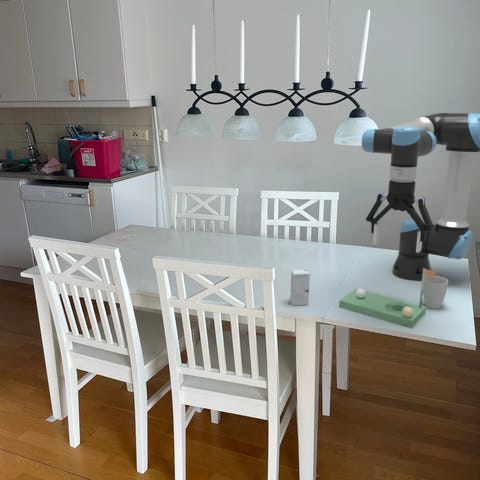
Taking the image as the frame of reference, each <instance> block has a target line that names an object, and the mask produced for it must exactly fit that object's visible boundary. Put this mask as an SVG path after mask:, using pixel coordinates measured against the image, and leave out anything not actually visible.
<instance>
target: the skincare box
mask: <svg viewBox="0 0 480 480" xmlns="http://www.w3.org/2000/svg"><path fill="white" fill-rule="evenodd" d="M310 277H311V273H310V272H309V270H308V269H291V272H290V298H289V300H290V304H291V303H292V304H291V306H308V305H309V294H310ZM307 304H308V305H307Z"/></svg>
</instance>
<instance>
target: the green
mask: <svg viewBox="0 0 480 480" xmlns="http://www.w3.org/2000/svg"><path fill="white" fill-rule="evenodd" d="M358 289H359V288H355V289H353V290H352V291H351V292H349V293H348V294H346V295H345V296H344V297H342V298H340V299H339V301H338V307H339V308H341V307H342V309H345V310H349V311H352V312H356V313H359V314H362V315H367V316H370V317H373V318H377V319H380V320H383V321H387V322H390V323H395V324H398V325H402V326H404V327H408V328H413V327H414V326H415V325H416V324H417V323H418V322H419V321H420V320H421V319H422V318H423V317H424V316H425V315H426V313H427V307H426V306H425V305H422V307H421V308H420V307H419V304H417V303H413V302H409V301H405V300H402V299H397V298H393V297H389V296H387V295H382V294H378V293H374V292H370V291H366V290H365V292H366V295H365V297H364V298H358V297H357V295H356V291H357V290H358ZM406 306H408V307H411V308H412V309H413V314H412V316H410V317H406V316H404V315H403V313H402V310H403V308H404V307H406Z"/></svg>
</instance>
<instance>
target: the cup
mask: <svg viewBox="0 0 480 480" xmlns="http://www.w3.org/2000/svg"><path fill="white" fill-rule="evenodd" d="M448 285H449V280H448V279H447V278H446V277H442V276H439V275H435V278H431V277H427V276H425V280H424V289H423V298H422V299H423V302H424V306H425V307H426V308H428V309H431V310H437V309H440V308H441V307H442V305H443V302H444V300H445V297H446V295H447V290H448Z"/></svg>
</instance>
